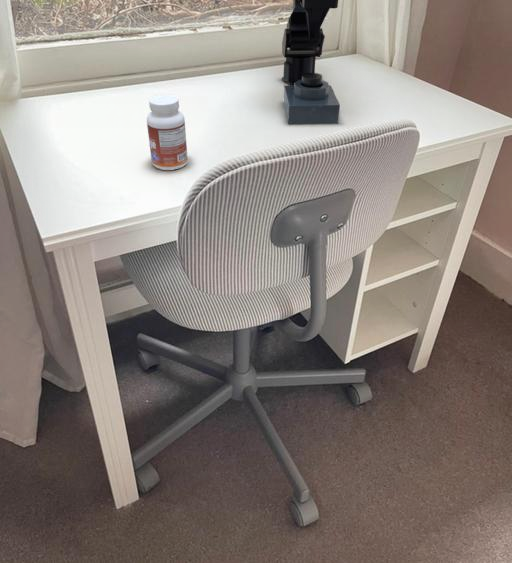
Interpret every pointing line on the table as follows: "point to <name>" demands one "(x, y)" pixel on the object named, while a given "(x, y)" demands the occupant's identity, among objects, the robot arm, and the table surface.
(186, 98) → the table surface
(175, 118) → the pill bottle
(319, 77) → the black round button
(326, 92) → the push button box
